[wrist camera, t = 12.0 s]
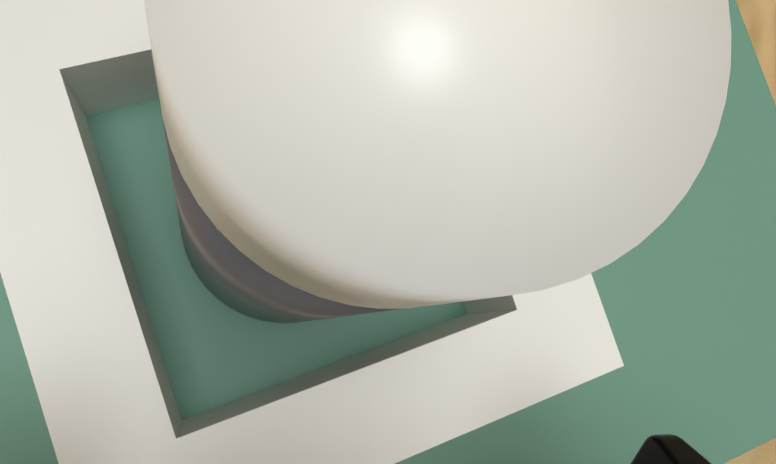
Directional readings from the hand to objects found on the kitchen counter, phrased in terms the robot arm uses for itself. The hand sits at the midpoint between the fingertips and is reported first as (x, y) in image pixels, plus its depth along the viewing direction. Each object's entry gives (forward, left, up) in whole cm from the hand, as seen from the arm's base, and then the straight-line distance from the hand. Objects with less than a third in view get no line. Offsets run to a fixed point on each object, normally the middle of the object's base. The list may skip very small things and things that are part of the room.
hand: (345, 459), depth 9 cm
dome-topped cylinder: (+4, -1, -7) cm, 9 cm away
